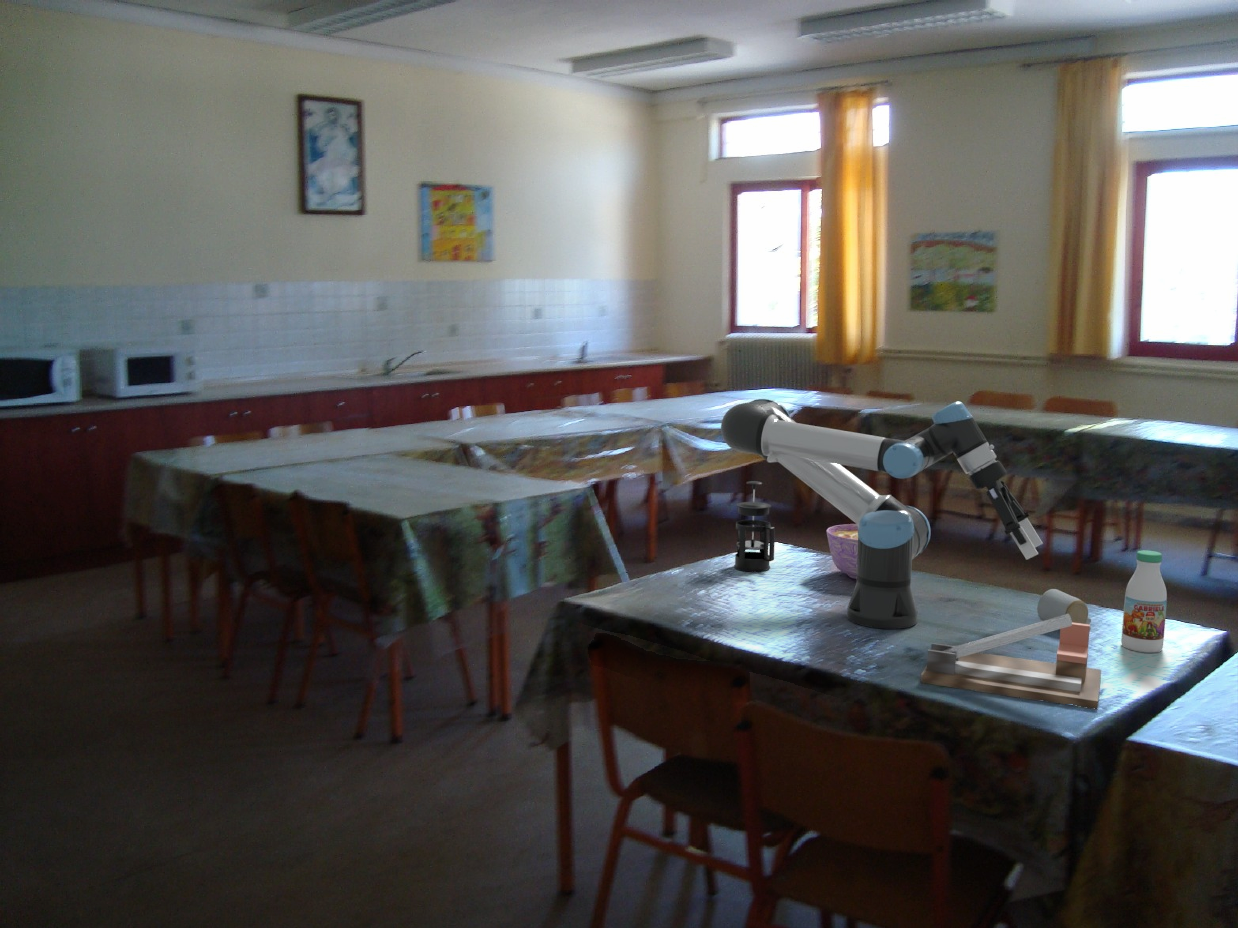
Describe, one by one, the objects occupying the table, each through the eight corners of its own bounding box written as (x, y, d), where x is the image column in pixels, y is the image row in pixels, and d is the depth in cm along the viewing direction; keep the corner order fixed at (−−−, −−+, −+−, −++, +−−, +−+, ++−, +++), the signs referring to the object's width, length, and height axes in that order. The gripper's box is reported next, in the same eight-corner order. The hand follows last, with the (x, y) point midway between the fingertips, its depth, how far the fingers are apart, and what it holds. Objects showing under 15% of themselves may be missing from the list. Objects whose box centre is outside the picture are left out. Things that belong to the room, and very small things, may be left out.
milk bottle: (1113, 642, 225) (1120, 548, 222) (1148, 641, 226) (1156, 547, 223) (1134, 654, 218) (1141, 557, 215) (1170, 653, 218) (1179, 556, 215)
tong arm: (941, 662, 202) (938, 655, 202) (944, 657, 205) (941, 650, 205) (1071, 625, 191) (1067, 617, 192) (1072, 621, 194) (1068, 613, 194)
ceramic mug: (1065, 634, 230) (1068, 599, 229) (1035, 624, 237) (1037, 590, 236) (1100, 629, 235) (1103, 594, 234) (1069, 619, 242) (1072, 585, 241)
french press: (724, 567, 286) (726, 481, 282) (746, 561, 292) (748, 477, 289) (760, 575, 277) (763, 486, 274) (782, 569, 284) (785, 482, 281)
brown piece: (920, 682, 201) (922, 653, 200) (937, 654, 217) (938, 627, 216) (1097, 709, 188) (1099, 679, 187) (1100, 677, 204) (1102, 649, 203)
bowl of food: (903, 569, 285) (905, 526, 283) (905, 588, 266) (908, 542, 264) (826, 564, 289) (827, 522, 288) (823, 583, 270) (824, 538, 268)
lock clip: (1056, 659, 199) (1058, 632, 198) (1059, 647, 206) (1061, 621, 205) (1086, 664, 196) (1088, 636, 196) (1087, 651, 204) (1089, 624, 203)
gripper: (991, 463, 226) (1047, 553, 223) (1003, 453, 248) (1054, 534, 245) (959, 481, 229) (1013, 569, 226) (974, 470, 251) (1023, 549, 248)
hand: (1035, 551), depth 236 cm, fingers open, 13 cm apart
